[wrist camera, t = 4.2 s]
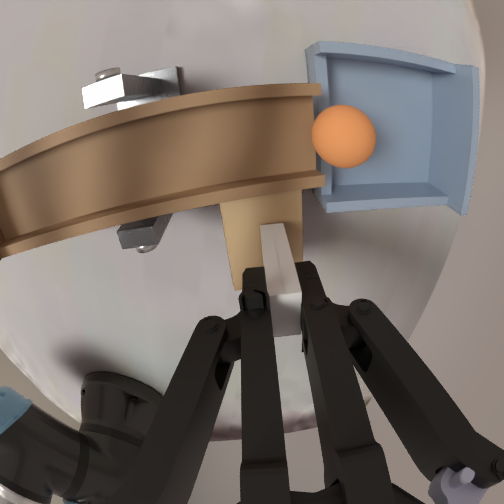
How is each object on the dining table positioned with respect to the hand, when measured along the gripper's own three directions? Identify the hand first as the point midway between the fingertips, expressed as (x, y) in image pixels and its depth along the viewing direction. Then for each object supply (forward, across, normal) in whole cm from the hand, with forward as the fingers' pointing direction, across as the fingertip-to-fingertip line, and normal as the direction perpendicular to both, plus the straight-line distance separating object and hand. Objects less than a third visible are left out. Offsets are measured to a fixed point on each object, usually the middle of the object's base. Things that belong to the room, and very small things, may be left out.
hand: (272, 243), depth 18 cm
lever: (0, -8, +3) cm, 9 cm away
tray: (+7, +10, +7) cm, 14 cm away
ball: (0, +4, +7) cm, 8 cm away
